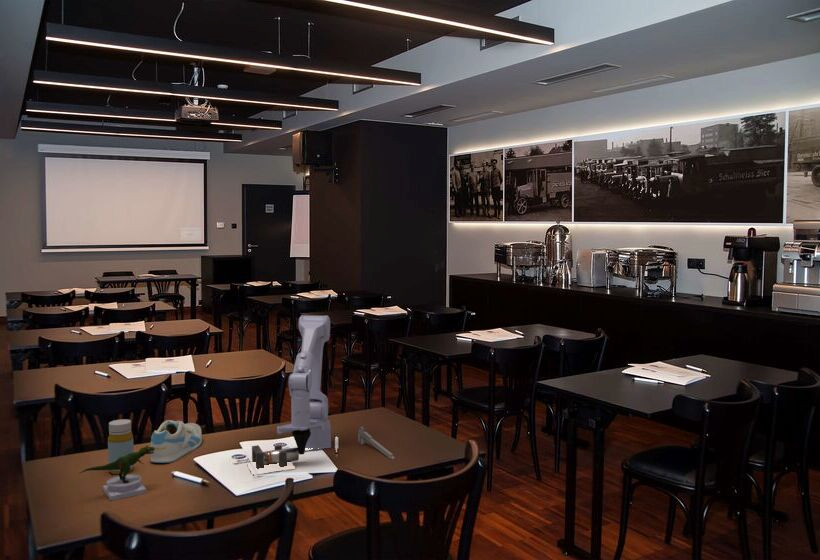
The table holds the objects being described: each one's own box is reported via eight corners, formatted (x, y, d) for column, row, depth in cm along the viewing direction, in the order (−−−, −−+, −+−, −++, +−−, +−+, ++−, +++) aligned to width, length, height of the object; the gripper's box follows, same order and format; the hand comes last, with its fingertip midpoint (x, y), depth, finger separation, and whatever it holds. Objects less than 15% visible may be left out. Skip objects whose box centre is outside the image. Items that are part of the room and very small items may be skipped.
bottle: (139, 468, 206) (137, 420, 205) (122, 476, 200) (120, 426, 199) (120, 465, 209) (119, 417, 207) (103, 473, 202) (101, 424, 201)
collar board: (288, 459, 214) (288, 440, 213) (295, 469, 206) (295, 449, 205) (246, 465, 209) (246, 446, 208) (252, 475, 201) (252, 455, 200)
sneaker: (209, 439, 235) (209, 408, 235) (176, 465, 209) (175, 431, 208) (181, 438, 236) (180, 407, 235) (145, 464, 210) (144, 430, 209)
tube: (295, 458, 212) (295, 445, 212) (299, 462, 209) (298, 449, 208) (260, 463, 208) (260, 450, 208) (263, 467, 204) (263, 454, 204)
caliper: (357, 443, 231) (357, 425, 230) (360, 443, 231) (360, 425, 231) (392, 460, 215) (392, 441, 214) (395, 459, 215) (395, 440, 215)
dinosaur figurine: (160, 490, 189) (159, 449, 189) (82, 507, 178) (80, 464, 177) (151, 480, 197) (150, 441, 196) (75, 496, 185) (74, 454, 184)
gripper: (280, 416, 203) (281, 460, 204) (327, 411, 209) (327, 454, 210) (275, 410, 210) (275, 453, 211) (320, 405, 215) (320, 447, 216)
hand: (301, 453), depth 211 cm, fingers closed
